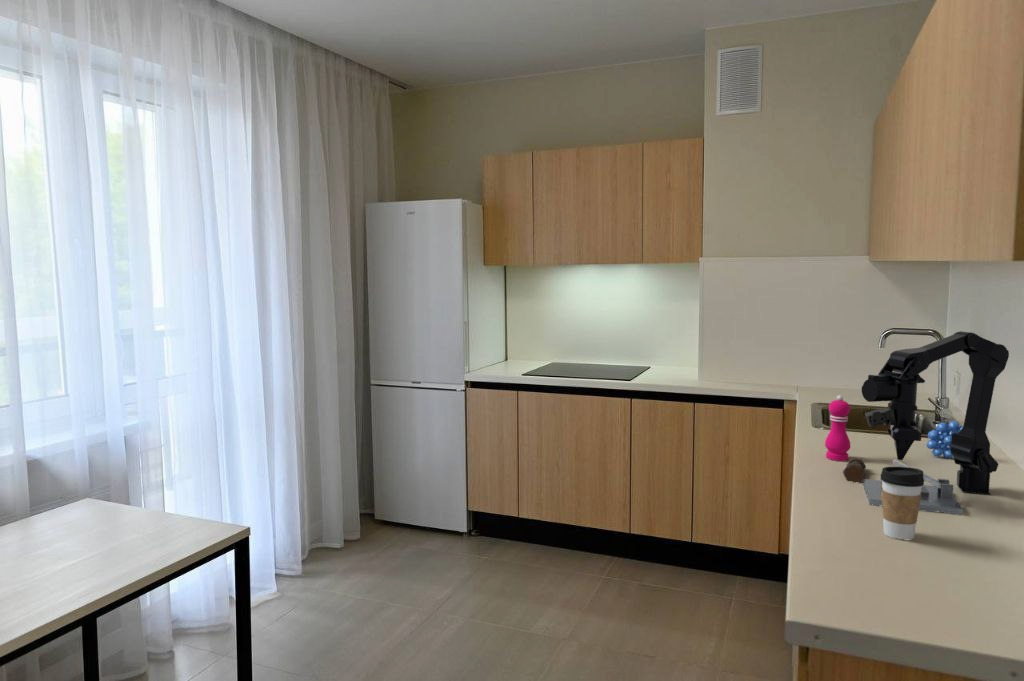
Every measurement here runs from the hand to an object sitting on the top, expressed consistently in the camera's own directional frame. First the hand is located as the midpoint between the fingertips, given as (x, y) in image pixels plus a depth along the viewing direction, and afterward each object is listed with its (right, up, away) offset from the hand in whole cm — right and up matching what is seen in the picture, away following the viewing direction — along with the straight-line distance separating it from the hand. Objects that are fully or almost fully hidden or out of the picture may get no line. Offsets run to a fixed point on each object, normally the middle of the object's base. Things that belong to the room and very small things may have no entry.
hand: (899, 459), depth 180 cm
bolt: (-2, -8, +20) cm, 21 cm away
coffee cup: (-14, -13, -25) cm, 32 cm away
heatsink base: (+2, -10, -1) cm, 10 cm away
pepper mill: (+1, -6, +37) cm, 37 cm away
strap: (+4, -4, -1) cm, 6 cm away
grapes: (+36, -6, +38) cm, 53 cm away
